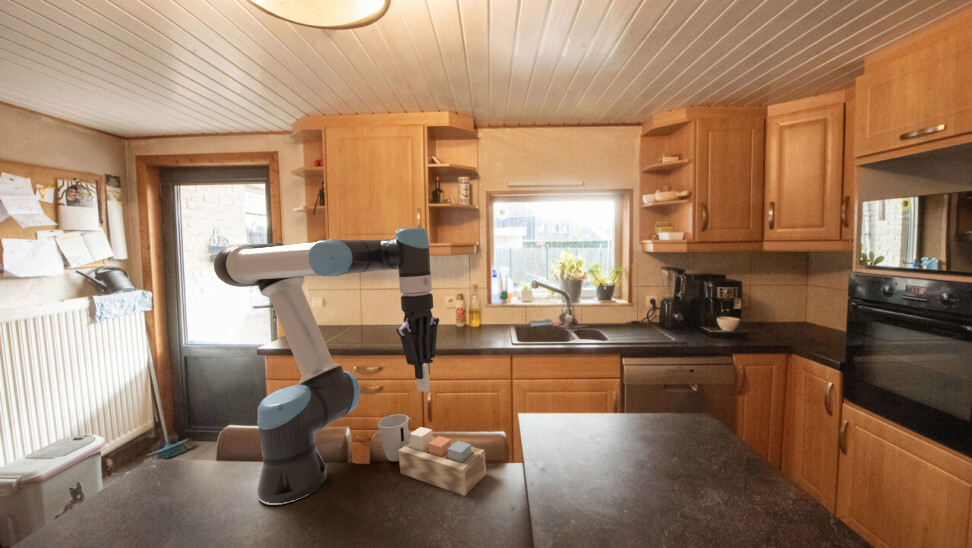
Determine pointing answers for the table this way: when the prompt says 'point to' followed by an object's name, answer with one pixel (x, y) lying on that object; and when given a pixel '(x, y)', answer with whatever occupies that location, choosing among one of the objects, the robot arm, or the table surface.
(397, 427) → the cup
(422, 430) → the key white
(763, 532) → the table surface
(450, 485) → the wooden box
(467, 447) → the key blue
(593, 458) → the table surface
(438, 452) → the key terracotta
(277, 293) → the robot arm
